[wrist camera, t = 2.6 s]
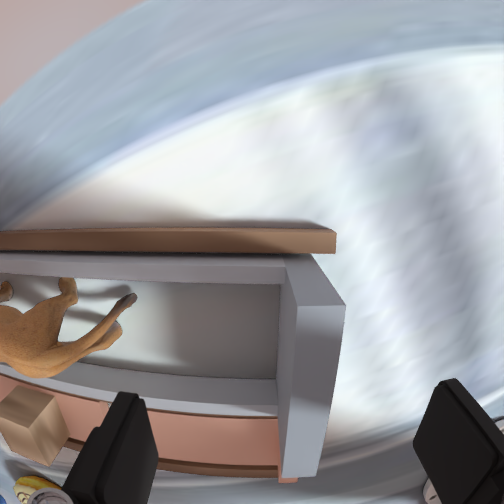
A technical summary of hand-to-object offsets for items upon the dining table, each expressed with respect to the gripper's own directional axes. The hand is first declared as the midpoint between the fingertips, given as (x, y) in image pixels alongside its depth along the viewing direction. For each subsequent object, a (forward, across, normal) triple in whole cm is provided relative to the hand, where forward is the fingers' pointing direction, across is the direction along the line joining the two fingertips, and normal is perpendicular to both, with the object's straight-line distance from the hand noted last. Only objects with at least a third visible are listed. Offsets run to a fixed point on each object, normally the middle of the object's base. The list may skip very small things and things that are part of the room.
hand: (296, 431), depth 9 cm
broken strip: (+9, +11, +9) cm, 17 cm away
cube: (+8, +17, +9) cm, 21 cm away
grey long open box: (+9, +11, +1) cm, 14 cm away
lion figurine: (+9, +15, +1) cm, 18 cm away
